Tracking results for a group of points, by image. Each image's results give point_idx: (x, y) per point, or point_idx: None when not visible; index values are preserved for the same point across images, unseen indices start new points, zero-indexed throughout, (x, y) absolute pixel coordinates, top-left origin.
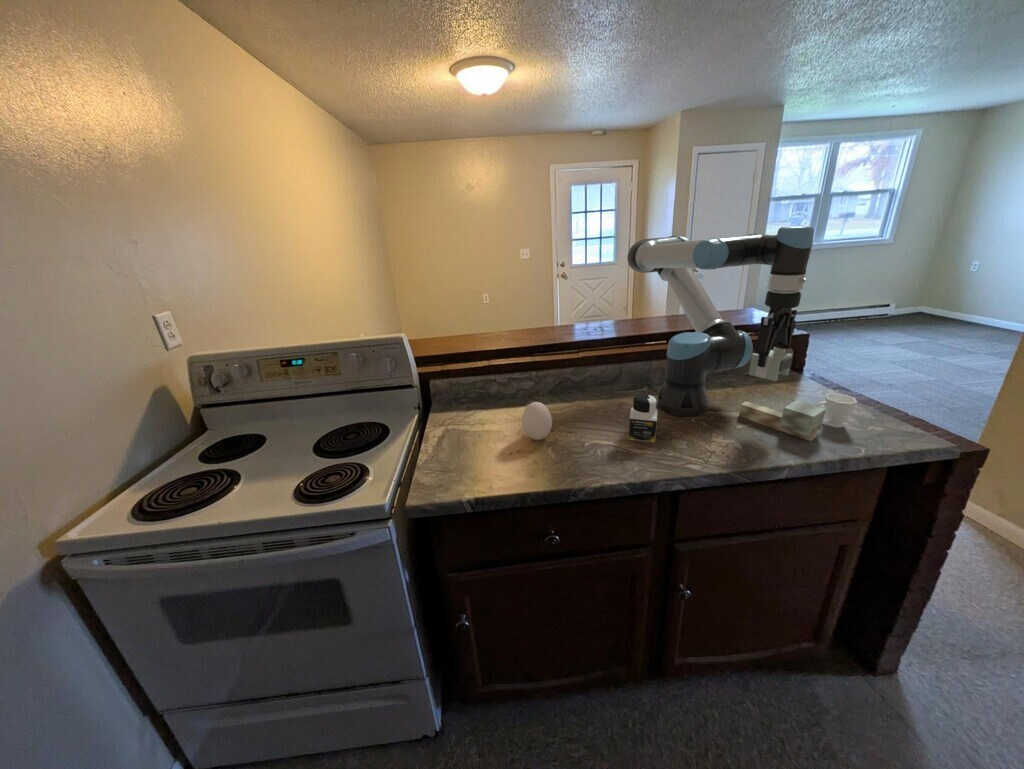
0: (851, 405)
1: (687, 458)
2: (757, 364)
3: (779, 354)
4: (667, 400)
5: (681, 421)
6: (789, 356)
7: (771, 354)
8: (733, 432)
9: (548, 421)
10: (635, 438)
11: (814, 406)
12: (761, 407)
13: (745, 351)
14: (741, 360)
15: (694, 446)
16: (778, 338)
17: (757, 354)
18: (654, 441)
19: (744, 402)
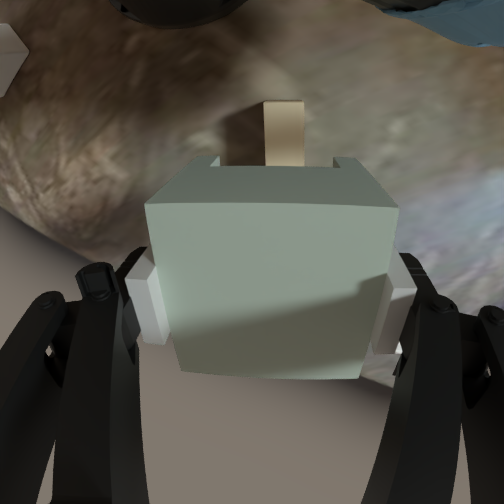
0: (400, 347)
1: (16, 170)
2: (131, 253)
3: (301, 340)
4: None
5: (103, 34)
6: (318, 374)
7: (259, 308)
8: (159, 150)
9: None
10: None
11: None
12: (293, 163)
13: (436, 13)
14: (389, 14)
15: (45, 145)
16: (403, 391)
17: (171, 238)
18: (1, 96)
19: (289, 102)
